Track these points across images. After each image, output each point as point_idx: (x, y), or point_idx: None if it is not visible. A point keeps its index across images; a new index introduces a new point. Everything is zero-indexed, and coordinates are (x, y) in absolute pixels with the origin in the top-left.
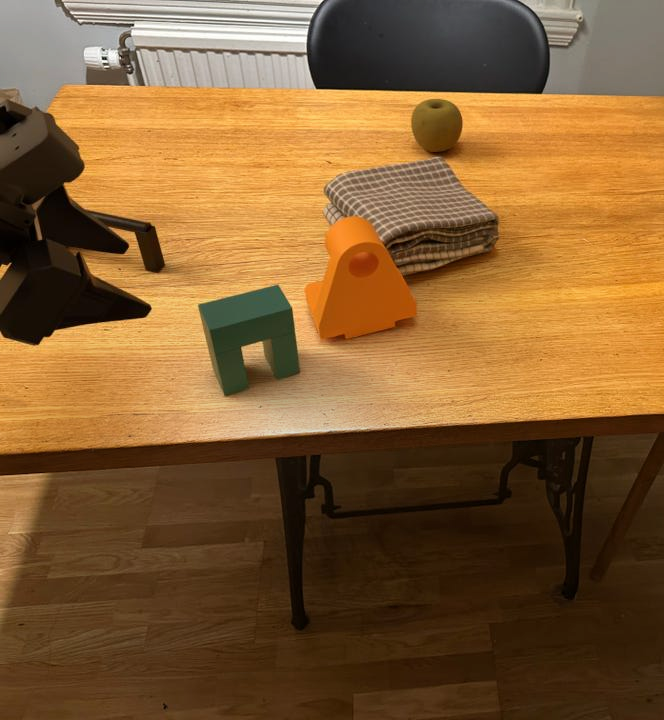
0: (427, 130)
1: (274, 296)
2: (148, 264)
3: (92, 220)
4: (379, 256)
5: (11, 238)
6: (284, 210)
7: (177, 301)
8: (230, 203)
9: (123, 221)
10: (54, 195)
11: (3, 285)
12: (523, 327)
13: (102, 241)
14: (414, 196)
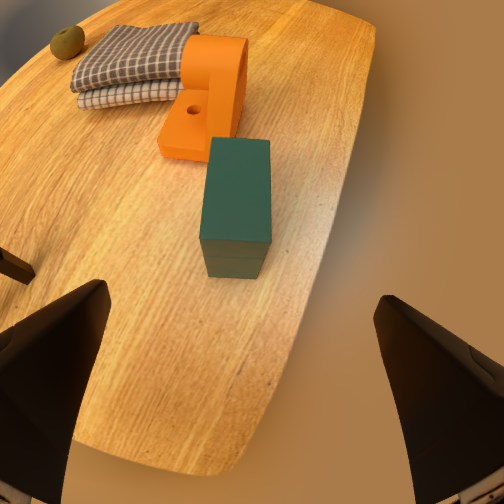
0: (69, 43)
1: (235, 147)
2: (25, 279)
3: (35, 339)
4: (246, 51)
5: None
6: (39, 146)
7: (80, 273)
8: (5, 184)
9: None
10: None
11: None
12: (281, 66)
13: (83, 338)
14: (143, 38)
